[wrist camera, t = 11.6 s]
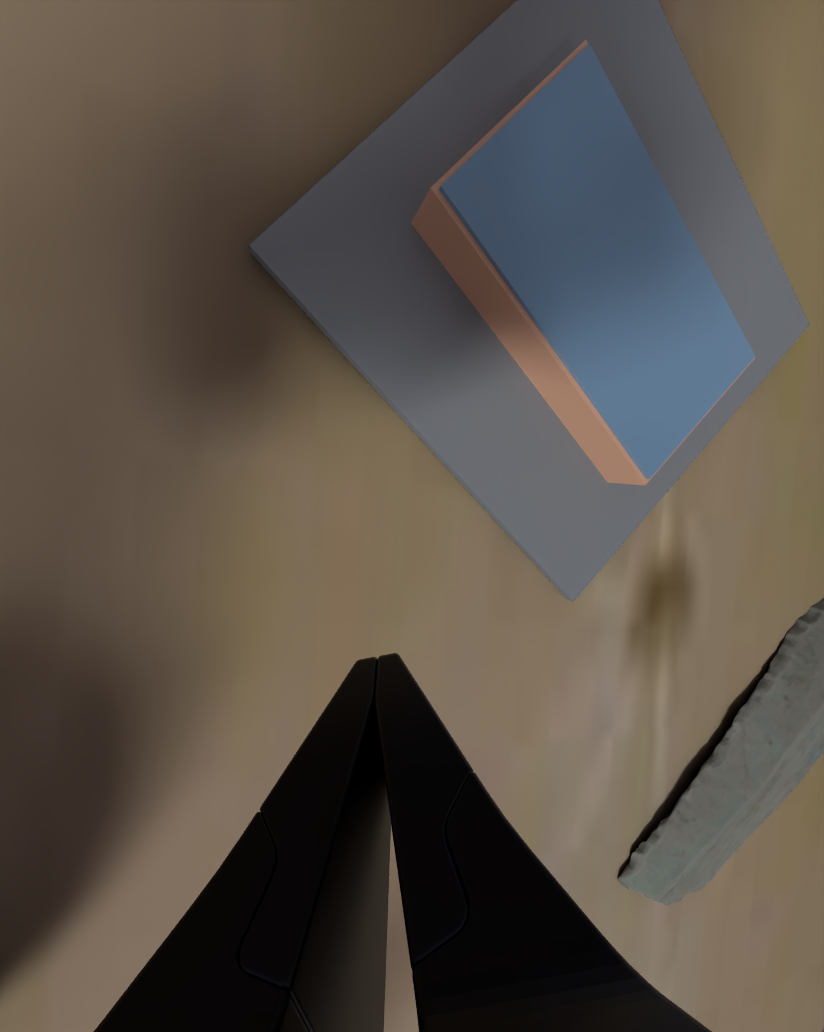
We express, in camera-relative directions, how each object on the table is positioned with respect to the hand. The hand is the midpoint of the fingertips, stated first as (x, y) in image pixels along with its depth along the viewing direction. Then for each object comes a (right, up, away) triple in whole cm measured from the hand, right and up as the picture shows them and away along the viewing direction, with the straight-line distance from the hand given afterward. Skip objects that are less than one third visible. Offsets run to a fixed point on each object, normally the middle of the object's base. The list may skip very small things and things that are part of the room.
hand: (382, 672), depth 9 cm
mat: (+8, +13, +10) cm, 19 cm away
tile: (+6, +9, +8) cm, 14 cm away
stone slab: (+23, -13, +19) cm, 32 cm away
